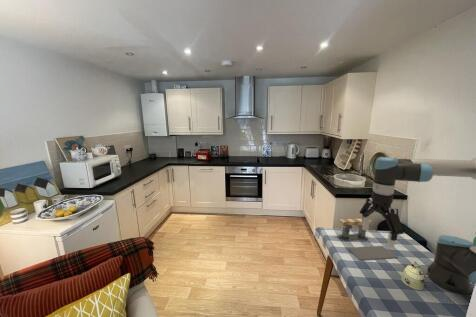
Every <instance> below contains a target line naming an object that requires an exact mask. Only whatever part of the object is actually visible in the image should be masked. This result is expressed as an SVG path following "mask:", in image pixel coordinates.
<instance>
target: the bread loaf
mask: <svg viewBox="0 0 476 317" xmlns="http://www.w3.org/2000/svg"><path fill="white" fill-rule="evenodd" d="M362 220H363V218H342V219H341V218H340V219H339V222H338V224H339V227H341V228H342V229H343V228H347V225H352V228H359V227H363V221H362ZM371 226H372V220H371V219H370V220H369V227H371Z"/></svg>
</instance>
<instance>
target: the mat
mask: <svg viewBox="0 0 476 317" xmlns="http://www.w3.org/2000/svg"><path fill="white" fill-rule="evenodd" d="M346 249H347V250H348V251H349V252H350V253H352V255H354V256H355V258H357V259H358V260H359V261H371V260H375V261H376V260H387V259H388V260H391V259H398V258H399V256H397V255H396V254H395V253H393V252H392V251H390V250H389V249H388V248H386V247H385V246H384V245H372V246H355V247H353V246H351V247H347V248H346Z"/></svg>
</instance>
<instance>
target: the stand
mask: <svg viewBox="0 0 476 317" xmlns="http://www.w3.org/2000/svg"><path fill="white" fill-rule="evenodd" d="M351 229H353V227H352V225H347V228H342V231H341V234H338V237H340V239H342V240H343V242H347V241H348V242H349V241H350V242H352V241H368V240H369V238H368V237H367V236H366V234H367V233H366V232H367V230H362V227H358V232H357V233H355V234H354V233H353V234H350V230H351Z"/></svg>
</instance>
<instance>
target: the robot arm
mask: <svg viewBox="0 0 476 317" xmlns="http://www.w3.org/2000/svg"><path fill="white" fill-rule="evenodd" d="M373 174H374V175H373V182H372V183H373V184H372V192H371V197H369V198H368V197H367V198H366V200H365V203H364V204H363V206H361V208H360V210H359V214H361V215H362V219H363V220H362V221H363V227H362V230H366V231H369V220H370V221H371V218H370V215H372V214H373V213H375V212H376V213H379V214H380V215H381V216H382V217H383V219H384V220H385V222H386V224H387V226H388V228H389V230H390V231H388V236H387V244H386V247H388V248H393V247H395V245H396V241H397V240H398V235H403V234H404V230H403V227H402V223H401V220H400V217H399V209H398V208H393V207H392V204H393V201H394V194H395V187H396V186H395V185H396V181H399V182H402V181H403V182H416V183H425V182H426V183H427V182H430V181H431V180H432V179H433V177H434V176H435V177H436V176H437V177H462V178H463V177H464V178H465V177H466V178H471V179H473V180H476V157H475V158H472V159H469V160H467V159H426V158H424V159H422V158H421V159H420V158H397V157H388V156H387V157H386V156H385V157H384V156H380V157H377V158H376V160H375V165H374V172H373ZM433 258H434V259H433V261H432V263H431V264H430V265H429V266H428V267H427V269H426V276H427V275H428V276H427V277H428V279H429V280H431V281H432V282H433V283H434V284H436V285H437V286H439V287H441V288H443V289H445V290H448V291H451V292H453V293H457V294H462V295H468V294H470V293H471V292H472V285H474V284H475V278H476V245H475V243H473V242H472V241H469V240H468V239H465V238H462V237H458V236H455V235H446V234H445V235H439V237H438V239H437V241H436V249H435V253H434V257H433ZM470 291H471V292H470ZM469 292H470V293H469Z"/></svg>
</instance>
